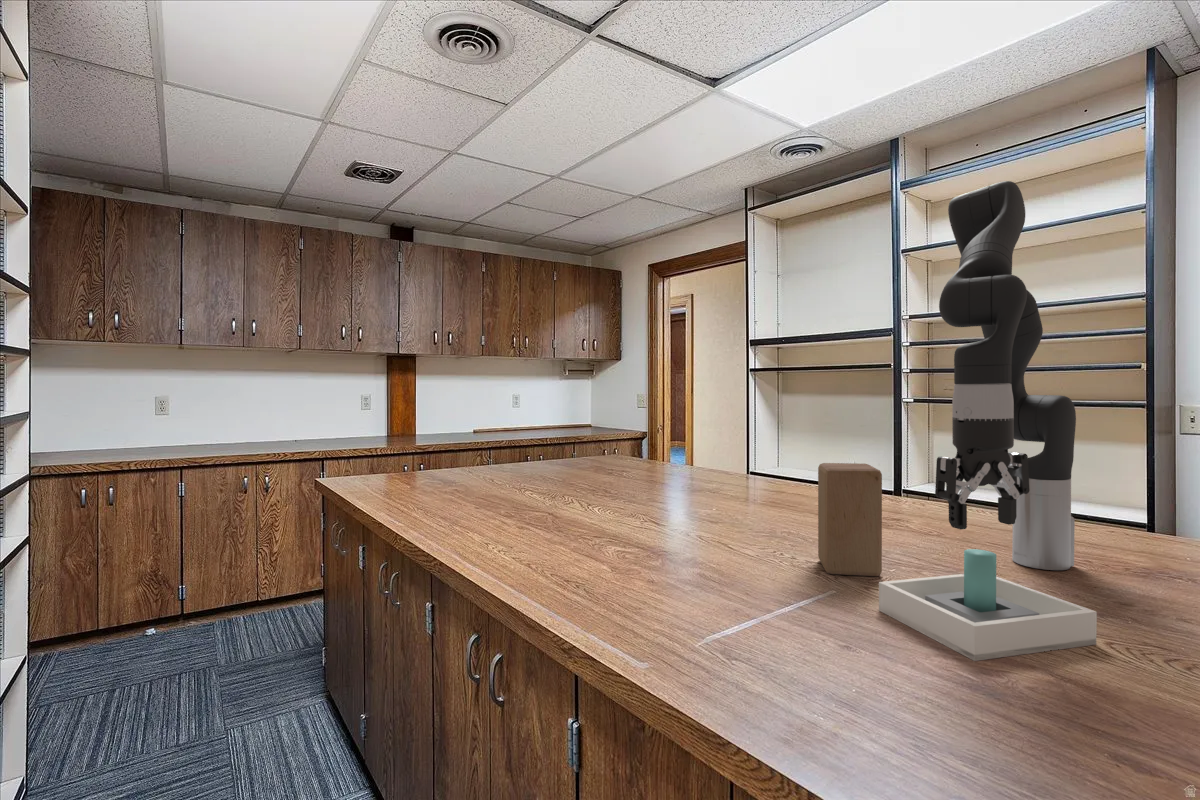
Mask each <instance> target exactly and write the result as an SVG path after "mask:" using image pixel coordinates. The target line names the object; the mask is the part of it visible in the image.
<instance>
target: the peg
mask: <svg viewBox="0 0 1200 800" xmlns="http://www.w3.org/2000/svg"><path fill="white" fill-rule="evenodd" d="M963 574H964V606H966V607H968V608H971V609H973V610H975V611H978V612H989V611H996V577H997V554H996V553H995V552H993V551H990V550H984V549H976V548H975V549H974V548H969V549H968V548H967V549H964V550H963Z"/></svg>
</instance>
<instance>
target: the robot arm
mask: <svg viewBox="0 0 1200 800" xmlns="http://www.w3.org/2000/svg"><path fill="white" fill-rule="evenodd" d="M1025 206H1026V205H1025V200H1024V197H1023V193H1022V192H1021V188H1020V187H1019V185H1018V184H1017V183H1016V182H1014V181H1012V180H1011V181H1010V180H1004V181H1000V182H995V183H993V184H990V185H987V186H984V187H981V188H978V189H975V190H971V191H969V192H966V193H963V194H960V195H957V196H955V197H952V199H951V200H950V201H949V203H948V208H947V210H948V211H947V212H948V218H949V224H950V227H951V231H952V233H953V236H954V240H955V242H956V245H957V248H958V251H959V253H960V259H959V266H958V270H957V271H956V272H954V274H953V275H952V276H951V277H950V279H949V280H948V281H947V282H946V284H945V286H944V287H943V289H942V292H941V294H940V296H939V303H938V307H939V314H940V316H941V318H942V320H943V321H944V322H945V323H946V324H948V325H949V326H952V327H955V328H969V327H970V328H972V327H980V329H981V331H982V335H983V338H984V339H981V340H979V341H974V342H973V341H972V342H969V343H965V344H961V345H960V346H957V348H956V349H955V350H954V353H953V355H954V356H953V357H954V358H953V371H954V372H953V374H954V375H953V376H954V377H953V379H954V380H953V383H954V385H953V392H952V393H953V394H952V402H951V405H952V408H951V409H952V410H951V411H952V421H951V422H952V423H951V424H952V445H953V446H954V447H955V448H956V454H955V457H949V456H937V458H936V467H935V469H936V470H935V485H934V486H935V488H934V489H935V490H934V491H935V492H934V494H935V497H937V498H940V499H943V500H946V501H947V503H948V522H949V524H950V526H951V527H952V528H954V529H957V530H966V529H967V527H968V514H967V513H968V512H967V511H968V503H966V501H967V500H968V499H969V496H970V495H971V493H973V492H976V490H977V488H978V487H984V486H987V485H990V486H991V487H993V488H994V489H995V491H996V492H997V494H998V495H999V496H1000V497H997V521H998V523H1001V524H1005V525H1008V526H1010V525H1011V526H1012V541H1011V542H1012V548H1011V549H1012V551H1011V552H1012V553H1011V554H1012V556H1011V558H1012V561H1013V562H1014V563H1016V564H1018V565H1021V566H1023V567H1028V568H1033V569H1039V570H1046V571H1047V570H1048V571H1049V570H1050V571H1066V570H1070V569H1071V567H1075V528H1076V527H1075V524H1076V522H1075V517H1073V516H1072V471H1073V464H1074V454H1075V451H1074V450H1075V440H1076V439H1075V437H1076V426H1077V424H1076V423H1077V415H1076V414H1077V413H1076V408H1075V407H1076V406H1075V404H1074V402H1073V400H1072V399H1071V398H1070V397H1068V396H1066V395H1058V394H1057V395H1054V394H1049V395H1047V394H1029V393H1027V390H1026V387H1025V373H1026V370H1027V367H1028V365H1029V364H1030V361H1031V360H1032V358H1033V356H1034V354H1035V353H1036V351H1037V349H1038V347H1039V344H1040V343H1041V340H1042V337H1043V332H1044V331H1043V330H1044V329H1043V324H1042V323H1043V322H1042V320H1041V316H1040V312H1039V307H1038V304H1037V301H1036V299H1035V297H1034V296H1033V294H1032V293H1031V292H1030V291H1029V290H1028V288H1027V287H1026V283H1024V281H1023V280H1022V279H1021V278H1020V277H1019V276H1017V275H1014V274H1013V253H1014V250H1015V247H1016V245H1017V243H1018V241H1019V238H1020V236H1021V233H1022V231H1023V228H1024V227H1025V226H1024V225H1025V222H1026V207H1025ZM1015 440H1017V441H1022V442H1032V443H1033V442H1036V443H1044V444H1043V445H1044V446H1043V450H1042V451H1041V452H1039V453H1038V454H1036V455H1034V456H1031V457H1028V454H1026V453H1023V452H1022V453H1020V452H1016V451H1015V452H1014V451H1009V450H1011V449H1012V448H1013V447H1014V445H1015Z"/></svg>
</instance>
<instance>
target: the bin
mask: <svg viewBox="0 0 1200 800" xmlns="http://www.w3.org/2000/svg"><path fill="white" fill-rule="evenodd" d="M878 611H879V612H881V613H883V614H885V615H887V616H889V617H891V618H893V619H894V620H895V621H898V622H900V623H902V624H904V625H905V626H907V627H909V628H911V629H913V630H915V631H916V632H918V633H921V634H922V635H924V636H926V637H928V638H930V639H932V640H934V641H935V642H938V643H939V644H941V645H944V646H945V647H947V648H949V649H950V650H952V651H954V652H957V653H958V654H960V655H962V656H963V657H966V658H968V659H970V660H971V661H973V662H977V661H978V662H979V661H984V660H985V661H986V660H991V659H999V658H1006V657H1007V658H1008V657H1014V656H1022V655H1028V654H1037V653H1043V652H1044V651H1045V652H1051V651H1050V650H1052V651H1059V650H1065V649H1072V648H1080V647H1088V646H1095V645H1097V621H1098V620H1097V614H1098V613H1097V612H1098V611H1096V610H1093V609H1090V608H1087V607H1085V606H1082V605H1078V604H1076V603H1072V602H1070V601H1067V600H1065V599H1061V598H1059V597H1055V596H1054V595H1051V594H1047V593H1044V592H1042V591H1038V590H1036V589H1033V588H1030V587H1027V586H1024V585H1021V584H1019V583H1017V582H1014V581H1010V580H1008V579H1005V578H1001V577H999V576H996V611H989V612H978V611H975V610H973V609H971V608H968V607H966V606H964V573H962V574H961V573H959V574H950V575H949V574H948V575H939V576H929V577H918V578H917V577H916V578H907V579H896V580H887V581H879V582H878ZM1058 649H1059V650H1058Z"/></svg>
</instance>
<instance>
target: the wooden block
mask: <svg viewBox="0 0 1200 800" xmlns="http://www.w3.org/2000/svg"><path fill="white" fill-rule="evenodd" d="M817 470H818V471H817V472H818V473H817V483H818V484H817V485H818V486H817V488H818V489H817V494H818V495H817V499H818V500H817V501H818V502H817V504H818V508H817V512H818V513H817V516H818V517H817V518H818V519H817V521H818V522H817V525H818V527H817V531H818V534H817V535H818V536H817V540H818V541H817V544H818V545H817V549H818V552H817V557H818V560H819V561H820V563H821V565H822V567H823V569H824V570H825V572H826V573H827V574H830V575H838V576H839V575H841V576H843V575H844V576H861V577H863V576H864V577H878V576H881V574H882V571H883V564H882V563H883V561H882V560H883V559H882V558H883V548H882V547H883V541H882V540H883V538H882V537H883V504H882V503H883V474H882V471H881V470H880V469H878V468H876V467H874V466H872V465H870V464H869V463H857V462H856V463H851V462H850V463H849V462H848V463H847V462H846V463H845V462H844V463H843V462H841V463H840V462H823V463H819V465H818V468H817Z"/></svg>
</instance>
